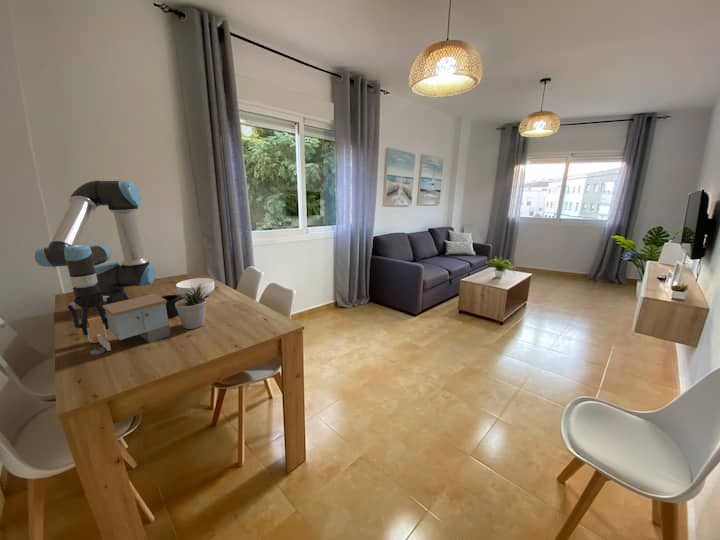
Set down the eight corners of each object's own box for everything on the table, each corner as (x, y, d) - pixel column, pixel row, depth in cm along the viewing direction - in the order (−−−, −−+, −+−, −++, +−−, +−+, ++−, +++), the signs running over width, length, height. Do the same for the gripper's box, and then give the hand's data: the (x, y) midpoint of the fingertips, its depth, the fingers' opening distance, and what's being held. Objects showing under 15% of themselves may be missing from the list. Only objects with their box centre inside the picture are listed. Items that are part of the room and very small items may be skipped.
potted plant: (189, 334, 128) (182, 290, 123) (172, 327, 135) (166, 285, 130) (216, 324, 138) (211, 283, 133) (199, 317, 145) (194, 278, 140)
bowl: (222, 294, 178) (220, 281, 176) (189, 304, 162) (187, 290, 160) (203, 289, 188) (202, 276, 186) (171, 297, 172) (169, 283, 170)
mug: (160, 322, 140) (157, 304, 137) (158, 314, 149) (155, 297, 146) (183, 317, 145) (180, 300, 143) (179, 310, 154) (177, 293, 152)
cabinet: (110, 342, 120) (102, 305, 116) (160, 327, 134) (154, 293, 130) (121, 353, 112) (113, 313, 108) (173, 335, 127) (167, 300, 122)
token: (102, 355, 112) (102, 352, 111) (88, 356, 110) (87, 353, 110) (108, 349, 116) (107, 346, 116) (94, 351, 115) (94, 348, 114)
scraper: (90, 340, 121) (85, 317, 118) (103, 336, 124) (98, 314, 122) (102, 352, 112) (97, 328, 109) (115, 348, 115) (110, 324, 112)
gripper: (57, 292, 107) (72, 350, 113) (115, 281, 120) (126, 334, 126) (52, 288, 111) (67, 344, 117) (109, 278, 124) (120, 329, 130)
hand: (98, 339), depth 121 cm, fingers closed on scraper, 4 cm apart
